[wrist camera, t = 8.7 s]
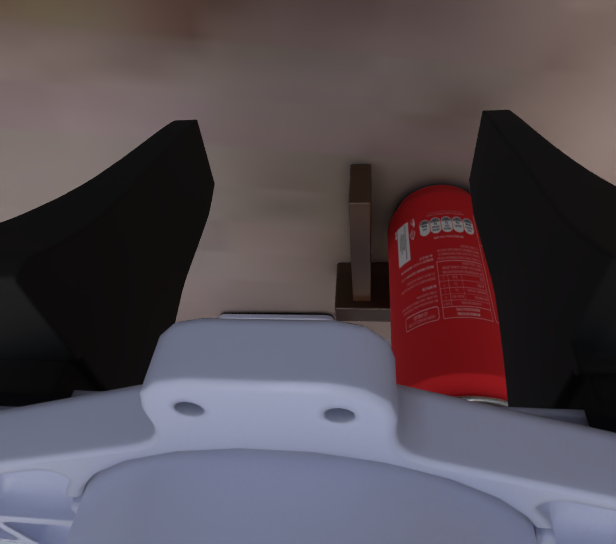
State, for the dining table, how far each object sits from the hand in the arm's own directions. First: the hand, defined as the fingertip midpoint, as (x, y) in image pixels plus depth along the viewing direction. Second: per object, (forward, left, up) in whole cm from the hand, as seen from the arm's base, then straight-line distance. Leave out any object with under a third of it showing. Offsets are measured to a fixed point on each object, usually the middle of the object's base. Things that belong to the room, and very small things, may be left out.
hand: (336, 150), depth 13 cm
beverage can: (-10, -4, -10) cm, 15 cm away
